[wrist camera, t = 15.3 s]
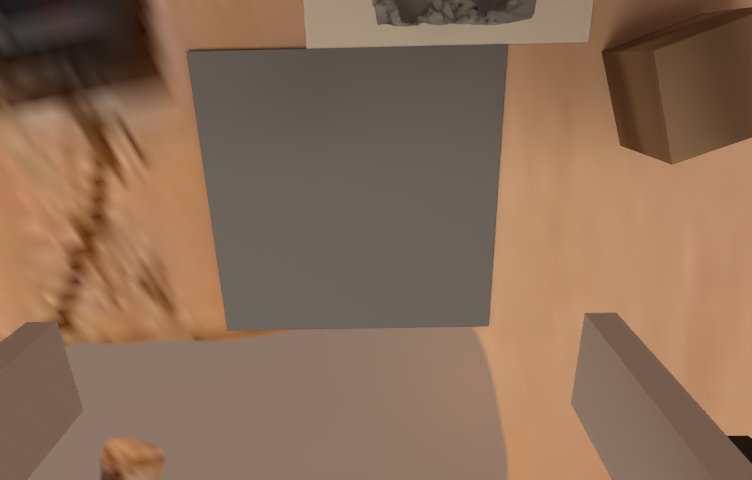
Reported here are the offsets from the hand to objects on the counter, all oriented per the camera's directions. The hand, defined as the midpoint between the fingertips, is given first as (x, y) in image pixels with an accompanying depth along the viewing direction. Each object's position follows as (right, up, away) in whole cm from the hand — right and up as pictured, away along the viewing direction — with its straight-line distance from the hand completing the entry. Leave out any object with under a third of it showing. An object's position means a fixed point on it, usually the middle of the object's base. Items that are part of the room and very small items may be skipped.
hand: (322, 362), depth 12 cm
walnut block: (+16, +11, +13) cm, 23 cm away
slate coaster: (0, +5, +15) cm, 16 cm away
